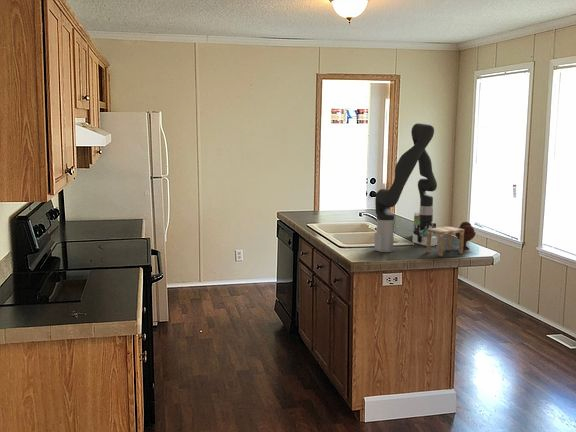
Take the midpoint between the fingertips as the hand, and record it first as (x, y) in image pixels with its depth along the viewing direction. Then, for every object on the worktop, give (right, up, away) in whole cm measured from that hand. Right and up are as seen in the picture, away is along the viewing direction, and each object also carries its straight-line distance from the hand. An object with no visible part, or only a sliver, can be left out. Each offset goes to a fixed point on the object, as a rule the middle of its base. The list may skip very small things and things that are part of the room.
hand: (424, 241), depth 350 cm
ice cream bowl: (+19, -3, -13) cm, 23 cm away
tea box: (+2, +1, +18) cm, 19 cm away
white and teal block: (0, -1, 0) cm, 1 cm away
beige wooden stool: (+5, -5, -25) cm, 26 cm away
